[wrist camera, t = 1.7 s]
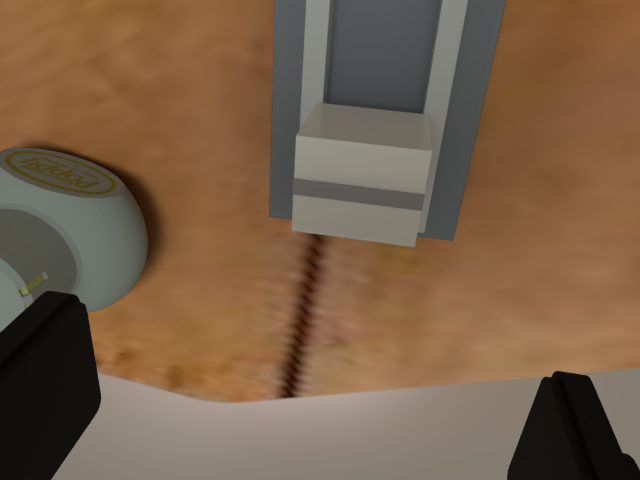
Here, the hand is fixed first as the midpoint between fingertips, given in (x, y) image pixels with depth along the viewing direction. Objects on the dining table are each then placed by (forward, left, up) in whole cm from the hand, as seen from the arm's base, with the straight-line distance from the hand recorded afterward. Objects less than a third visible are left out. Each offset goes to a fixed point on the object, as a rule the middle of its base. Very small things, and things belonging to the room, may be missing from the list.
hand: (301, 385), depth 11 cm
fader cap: (0, 0, -17) cm, 17 cm away
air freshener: (+18, +8, -21) cm, 29 cm away
